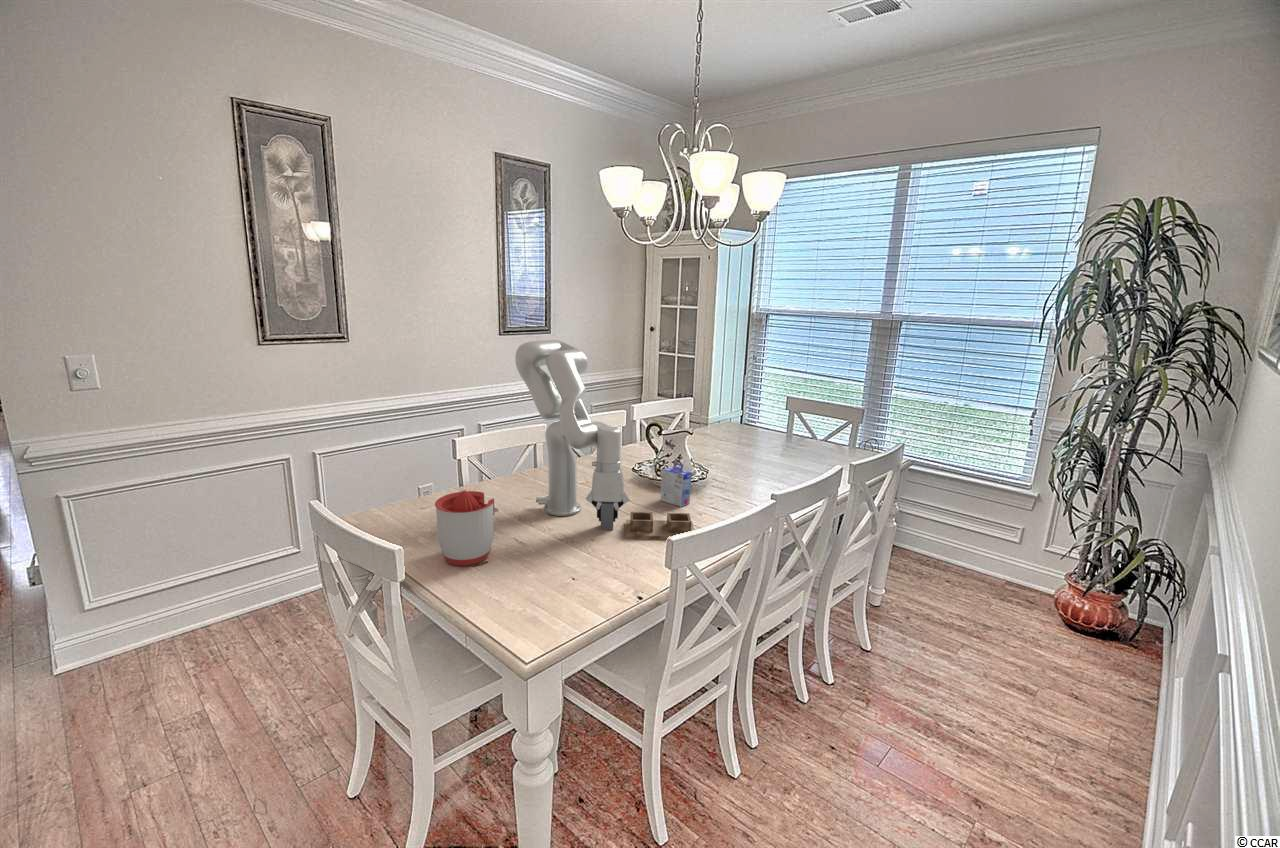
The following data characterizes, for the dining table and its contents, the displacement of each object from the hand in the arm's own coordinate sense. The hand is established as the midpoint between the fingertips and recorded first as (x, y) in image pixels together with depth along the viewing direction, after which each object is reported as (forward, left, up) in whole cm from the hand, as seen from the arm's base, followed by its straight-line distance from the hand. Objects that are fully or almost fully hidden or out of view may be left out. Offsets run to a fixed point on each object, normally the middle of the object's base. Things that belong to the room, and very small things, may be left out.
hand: (607, 519), depth 181 cm
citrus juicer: (-38, -22, -3) cm, 44 cm away
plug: (0, 0, -3) cm, 3 cm away
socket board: (+17, -2, -3) cm, 17 cm away
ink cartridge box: (+24, +24, -3) cm, 34 cm away
